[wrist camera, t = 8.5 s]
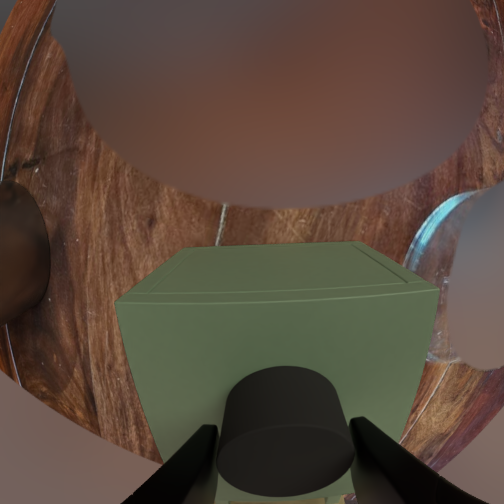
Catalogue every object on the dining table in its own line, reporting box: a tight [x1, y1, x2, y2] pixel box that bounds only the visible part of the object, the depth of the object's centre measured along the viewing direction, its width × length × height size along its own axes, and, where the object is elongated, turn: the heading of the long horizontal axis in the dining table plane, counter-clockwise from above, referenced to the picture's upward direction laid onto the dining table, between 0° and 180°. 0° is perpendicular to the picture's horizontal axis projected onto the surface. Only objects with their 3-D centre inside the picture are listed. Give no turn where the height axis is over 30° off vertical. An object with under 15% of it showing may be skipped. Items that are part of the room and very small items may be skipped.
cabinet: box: [114, 241, 440, 502], centre depth 13 cm, size 11×10×8 cm
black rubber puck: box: [216, 366, 355, 497], centre depth 7 cm, size 4×4×2 cm
